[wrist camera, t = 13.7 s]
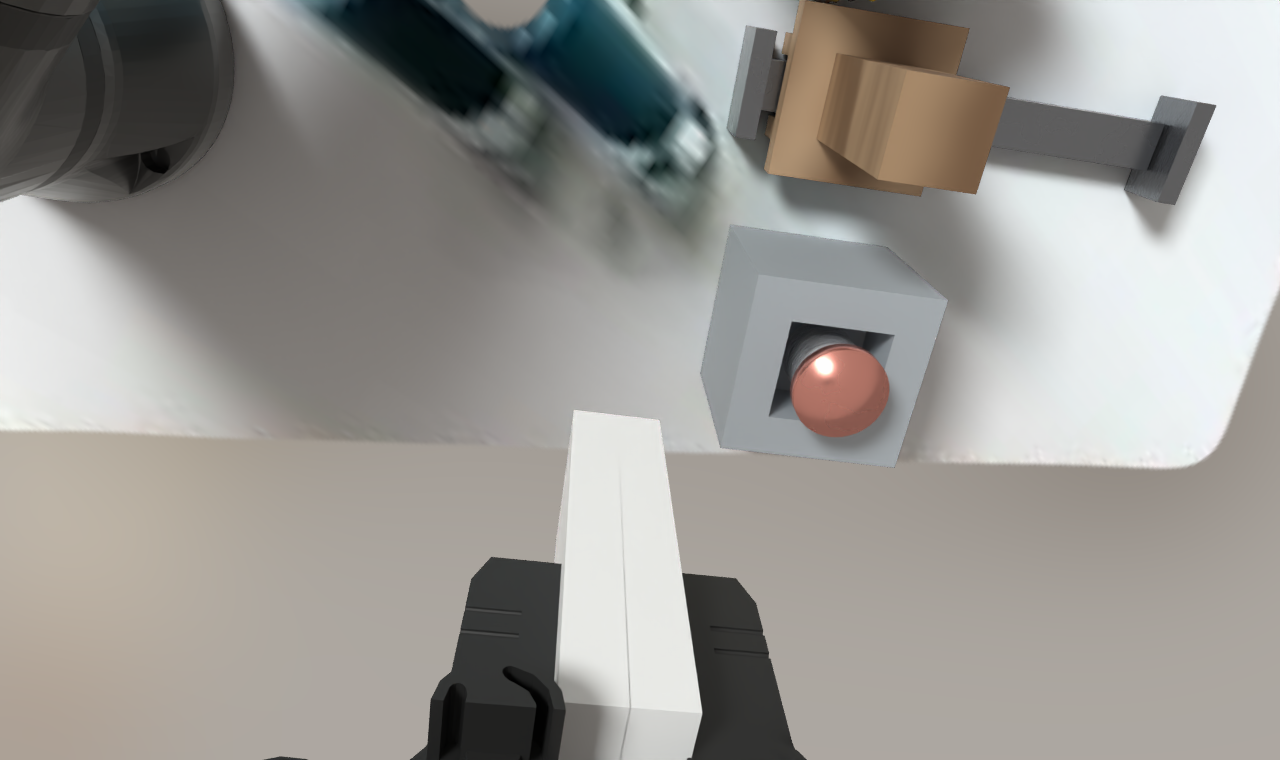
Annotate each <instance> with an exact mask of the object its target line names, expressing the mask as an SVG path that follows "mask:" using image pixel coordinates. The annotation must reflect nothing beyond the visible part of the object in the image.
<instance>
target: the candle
mask: <svg viewBox="0 0 1280 760" xmlns="http://www.w3.org/2000/svg"><path fill="white" fill-rule="evenodd" d="M814 1H816V2H820V3H826V4H828V3H829V2H835V3H837V2H838V1H839V0H814ZM848 1H850V2H851V1H854V0H848ZM869 1H872V2H873V1H875V0H869Z"/></svg>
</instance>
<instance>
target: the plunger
mask: <svg viewBox="0 0 1280 760" xmlns="http://www.w3.org/2000/svg"><path fill="white" fill-rule="evenodd" d="M782 364H783V367H784V370H785V372H786V374H787V376H788V378H789V380H790V382H791V386H790V397H791V402H792V405H793V407H794V409H795V411H796V413H797V416H798V417H799V419H800V421H801V422H802V423H803V424H804V425H805V426H806V427H807V428H808V429H810V430H811V431H813V432H815V433H817V434H820V435H823V436H827V437H844V436H849V435H853V434H856V433H858V432H860V431H862V430H864V429H866V428H867V427H868V426H870V425H871V424H872V423H873V422H874V421H876V419H877V418H878V417H879V416H880V415H881V413H882V412H883V410H884V408H885V406H886V404H887V401H888V397H889V380H888V377H887V374H886V372H885V370H884V368H883V367H882V366H881V364H880V363H879V362H878V360H877V359H876V358H875V357H874V356H873V355H872V354H871V353H870V352H869V351H867V350H866V349H864V348H862V347H859V346H856V345H855V344H854V343H853V341H852V340H851V339H850V337H849V336H848V334H847V333H846V332H845V331H844V330H843V329H842V328H838V327H831V326H823V325H816V324H808V323H806V324H804V325H802V326H800V327H798V328H797V329H796V330H794V331H793V332H792V333H791V334H790V336H789V337H788V339H787V343H786V347H785V351H784V355H783V359H782Z"/></svg>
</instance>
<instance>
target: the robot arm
mask: <svg viewBox="0 0 1280 760" xmlns="http://www.w3.org/2000/svg"><path fill="white" fill-rule="evenodd" d="M233 82H234V56H233V47H232V40H231V35H230V30H229V26H228V22H227V19H226V15H225V12H224V9H223V7H222V4H221V1H220V0H0V202H3V201H6V200H8V199H11V198H14V197H17V196H19V195H26V196H33V197H40V198H46V199H53V200H60V201H68V202H82V203H93V202H106V201H114V200H120V199H125V198H129V197H132V196H136V195H139V194H141V193H144V192H147V191H149V190H151V189H154V188H156V187H158V186H161V185H163V184H165V183H167V182H169V181H171V180H173V179H175V178H177V177H178V176H180V175H182V174H183V173H185V172H186V171H187V170H189V169H190V168H191V167H192V166H193V165H195V164H196V163H197V162H198V161H199V160H200V159H201V158H202V157H203V156H204V155H205V153H206V152H207V151H208V150H209V148H210V147H211V146H212V144H213V143H214V141H215V140H216V138H217V136H218V134H219V132H220V130H221V129H222V126H223V124H224V121H225V119H226V116H227V113H228V110H229V106H230V102H231V98H232V91H233ZM266 760H307V759H299V758H290V757H289V758H288V757H276V758H271V759H266ZM410 760H806V759H805V758H804V757H803V756H802V755H801V754H800V753H799V752H798V751H797V750H795V748H794V746H793V743H792V740H791V736H790V732H789V728H788V725H787V721H786V717H785V713H784V709H783V706H782V702H781V698H780V694H779V690H778V686H777V682H776V679H775V675H774V671H773V667H772V663H771V659H769V651H768V648H767V644H766V640H765V636H763V629H762V625H761V621H760V617H759V613H758V609H757V605H756V603H755V601H754V600H753V599H752V598H751V597H750V595H749V594H748V593H747V592H746V590H745V589H744V588H743V587H742V585H741V584H740V583H739V582H738V580H737V579H736V578H726V577H716V576H706V575H695V574H685V573H682V570H681V563H680V556H679V549H678V542H677V536H676V529H675V522H674V515H673V508H672V502H671V494H670V488H669V481H668V474H667V467H666V460H665V453H664V446H663V439H662V433H661V426H660V420H657V419H648V418H640V417H631V416H623V415H614V414H605V413H597V412H588V411H580V410H574V412H573V419H572V427H571V434H570V441H569V449H568V456H567V464H566V471H565V478H564V486H563V493H562V500H561V508H560V515H559V522H558V530H557V537H556V548H555V561H554V563H548V562H547V563H546V562H537V561H527V560H517V559H516V560H515V559H506V558H495V557H491V558H490V559H489V560H488V561H487V562H486V563H485V564H484V566H483V567H482V568H481V569H480V570H479V571H478V572H477V573H476V574H475V575H474V577H473V578H472V579H471V583H470V588H469V592H468V597H467V602H466V607H465V612H464V616H463V620H462V625H461V631H460V634H459V639H458V643H457V648H456V653H455V658H454V662H453V667H452V671H451V672H450V673H449V674H448V675H447V676H445V677H444V678H443V679H442V680H441V681H440V682H439V684H438V687H437V688H436V690H435V692H434V694H433V696H432V698H431V704H430V718H429V732H428V744H427V746H426V747H425V748H424V749H422V750H421V751H420V752H419V753H418V754H416V755H415V756H414V757H413V758H412V759H410Z"/></svg>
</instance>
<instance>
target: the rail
mask: <svg viewBox="0 0 1280 760" xmlns="http://www.w3.org/2000/svg"><path fill="white" fill-rule="evenodd" d="M776 35H777V31H774V30H769V29H764V28H758V27H752V26H746V29H745V34H744V40H743V45H742V50H741V55H740V61H739V66H738V71H737V76H736V82H735V87H734V92H733V98H732V103H731V108H730V113H729V119H728V124H727V129H728V130H729V131H730V132H731V133H732V134H733V135H734V136H735V137H738V138H745V139H751V140H755V138H756V133H757V128H758V123H759V118H760V113H761V110H765V111H771V112H776V110H777V105H778V101H779V96H780V91H781V86H782V82H783V77H784V72H785V68H786V63H787V61H785V60H779V59H773V58H772V55H773V50H774V45H775V40H776ZM1215 108H1216V105H1212V104H1206V103H1201V102H1195V101H1190V100H1184V99H1179V98H1173V97H1167V96H1161V97H1160V99H1159V102H1158V105H1157V107H1156V110H1155V112H1154V115H1153V117H1152V120H1151V121H1148V120H1143V119H1137V118H1131V117H1125V116H1119V115H1112V114H1106V113H1100V112H1094V111H1088V110H1082V109H1076V108H1070V107H1064V106H1058V105H1052V104H1046V103H1040V102H1034V101H1028V100H1022V99H1016V98H1009V97H1007V98H1006V101H1005V105H1004V108H1003V111H1002V114H1001V117H1000V120H999V123H998V127H997V130H996V133H995V136H994V139H993V142H992V147H999V148H1005V149H1011V150H1018V151H1024V152H1030V153H1037V154H1043V155H1049V156H1056V157H1062V158H1068V159H1074V160H1081V161H1087V162H1093V163H1100V164H1106V165H1112V166H1119V167H1125V168H1131V169H1132V171H1131V174H1130V177H1129V179H1128V182H1127V184H1126V187H1125V189H1124V190H1126V191H1129V192H1131V193H1134V194H1137V195H1139V196H1142V197H1145V198H1147V199H1150V200H1153V201H1155V202H1160V203H1166V204H1173V205H1175V204H1176V201H1177V199H1178V196H1179V194H1180V192H1181V189H1182V187H1183V184H1184V182H1185V180H1186V177H1187V175H1188V172H1189V170H1190V168H1191V165H1192V163H1193V160H1194V158H1195V156H1196V153H1197V151H1198V148H1199V146H1200V144H1201V141H1202V139H1203V136H1204V134H1205V132H1206V129H1207V127H1208V124H1209V122H1210V120H1211V117H1212V115H1213V112H1214V110H1215Z"/></svg>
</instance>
